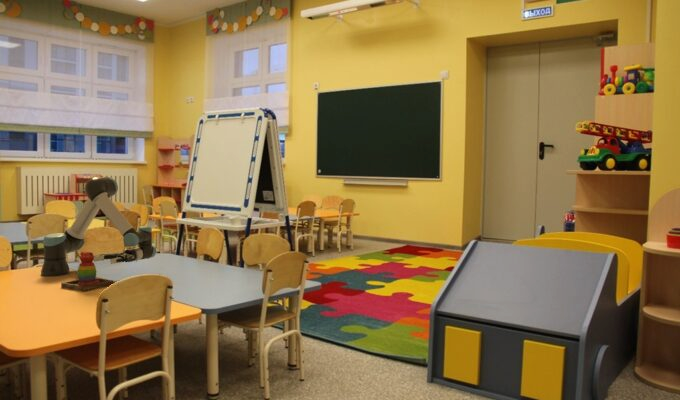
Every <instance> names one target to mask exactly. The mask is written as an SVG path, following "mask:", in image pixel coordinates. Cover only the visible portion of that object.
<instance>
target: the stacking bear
mask: <svg viewBox="0 0 680 400" xmlns="http://www.w3.org/2000/svg"><path fill="white" fill-rule="evenodd" d="M94 257H95V255H94V253H93V252H90V251H86V252H83V251H81V252H80V257H79V258H80V259H79V260H80V263H79V264H78V267H77V272H76V275H77V280H79V282H78V285H80V286H89V285H93V284H97V283H101V282H100V281H99V280H95V278H97V268H96V264H95V262H93V260H94Z"/></svg>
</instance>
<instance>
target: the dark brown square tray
mask: <svg viewBox="0 0 680 400" xmlns="http://www.w3.org/2000/svg"><path fill="white" fill-rule="evenodd" d="M95 280H99V281H100V282H101V283H97V284H93V285H89V286H80V285H78V282H79V280H78V279H74V280H69V281H64V282H61V283H60V284H61V285H60V286H61V289H66V290H73V291H77V292H89V291H93V290H98V289H102V288H106V287H110V286H109V285H111V284H113V285H114V280H112V279H107V278H99V277H96V278H95ZM111 286H112V285H111Z"/></svg>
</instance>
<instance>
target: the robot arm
mask: <svg viewBox="0 0 680 400" xmlns="http://www.w3.org/2000/svg"><path fill="white" fill-rule="evenodd" d="M84 190H85V194H86V196H87V197H88V198H87V200H86V201H85V203H84V205H83V207H82V208H81V210H80V212H79V213H78V215H77V217H75V220H74V221H73V223H72V224H71V226H69V227H67V228H65V230H64V232H56V233H49V234H46V235H45V236H44V237H43V242H42V244H43V263H42V267H41V269H40V275H41V276H43V277H54V276H55V277H56V276H64V275H67V274H70V267H69V264H68V261H67V254H71V253H75V252H77V251H79V250H81V249H82V248H83V247H84V245H85V243H86V242H85V241H86V240H85V238H86V232H87V230H88V229H89V227H90V225H91V224H92V222H93V220H94V219H95V217H96V216H97V214H98V213H99V210H101V212H102V213H103V214H104V215H105V217H106V218H107V219H108V220H109V222H111V224H112V225H113V226H114V227H115V228H116V230H117V231H118V232H119V233H120V235H121V236H122V237H123V238H122V240H123V243H124V245H126V246H127V247H132V248H127V249H125V250H124V251H123V252H114V253H104V254H103V253H102V254H100V255H96V256H95V255H94V260H93V261H92V262H93V263H95V262H101V261H103V262H104V260H110V265H114V264H119V263H132V262H138V261H142V260H146V259H148V260H149V259H150V258H154V257H155V256H156V254H157V249H156V246H154V245H153V231H152V229H153V228H152V227H151V226H145V225H143V226H142V225H141V226H139V227H138V230H136V229H135V228H134V227H133V225H132V224H131V223H130V222H129V221H128V219H127V218H126V217H125V216H124V215H123V213H122V212H121V211H120V210H119V208H118V207H117V205H115V204H114V202H113V201H112V200H111V199H110V198H111V197H113V196H115V195H116V194H117V192H118V190H119V185H118V182H117V181H116V179H114V178H112V177H111V176H109V177H108V176H102V177H98V176H97V177H92V178H89V179H88V180H87V181H86V182H85V186H84ZM137 245H138V247H136V246H137Z"/></svg>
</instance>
